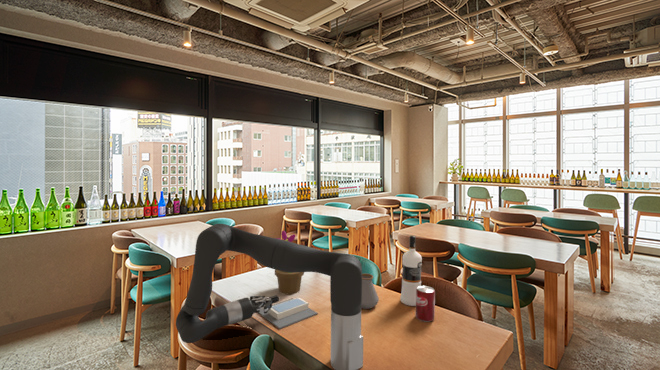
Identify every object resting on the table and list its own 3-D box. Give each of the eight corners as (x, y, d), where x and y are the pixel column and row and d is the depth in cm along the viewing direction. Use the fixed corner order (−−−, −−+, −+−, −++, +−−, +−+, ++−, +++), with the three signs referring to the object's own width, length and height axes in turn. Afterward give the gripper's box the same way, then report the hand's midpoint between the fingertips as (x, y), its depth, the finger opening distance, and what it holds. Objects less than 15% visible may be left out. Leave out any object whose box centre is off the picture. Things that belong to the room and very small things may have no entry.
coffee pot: (382, 303, 138) (383, 270, 137) (372, 313, 128) (372, 278, 127) (341, 292, 149) (341, 261, 148) (328, 301, 139) (328, 268, 138)
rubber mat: (317, 314, 127) (317, 312, 127) (279, 329, 115) (279, 327, 115) (292, 299, 140) (292, 298, 140) (256, 311, 129) (256, 310, 129)
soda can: (421, 323, 120) (422, 293, 119) (411, 314, 127) (412, 286, 126) (438, 321, 122) (439, 291, 121) (427, 312, 129) (428, 284, 128)
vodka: (410, 296, 145) (411, 232, 143) (426, 303, 138) (428, 236, 136) (395, 300, 140) (397, 235, 138) (411, 308, 133) (413, 239, 130)
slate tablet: (277, 319, 121) (308, 308, 131) (277, 313, 121) (308, 302, 131) (268, 313, 126) (298, 302, 136) (268, 307, 126) (298, 297, 136)
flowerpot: (269, 293, 147) (269, 231, 144) (282, 282, 160) (282, 225, 158) (297, 297, 142) (297, 233, 140) (308, 286, 156) (308, 227, 154)
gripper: (245, 307, 108) (287, 294, 119) (229, 295, 118) (269, 284, 129) (245, 328, 108) (287, 313, 120) (229, 314, 118) (269, 301, 130)
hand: (278, 298), depth 125 cm, fingers closed
